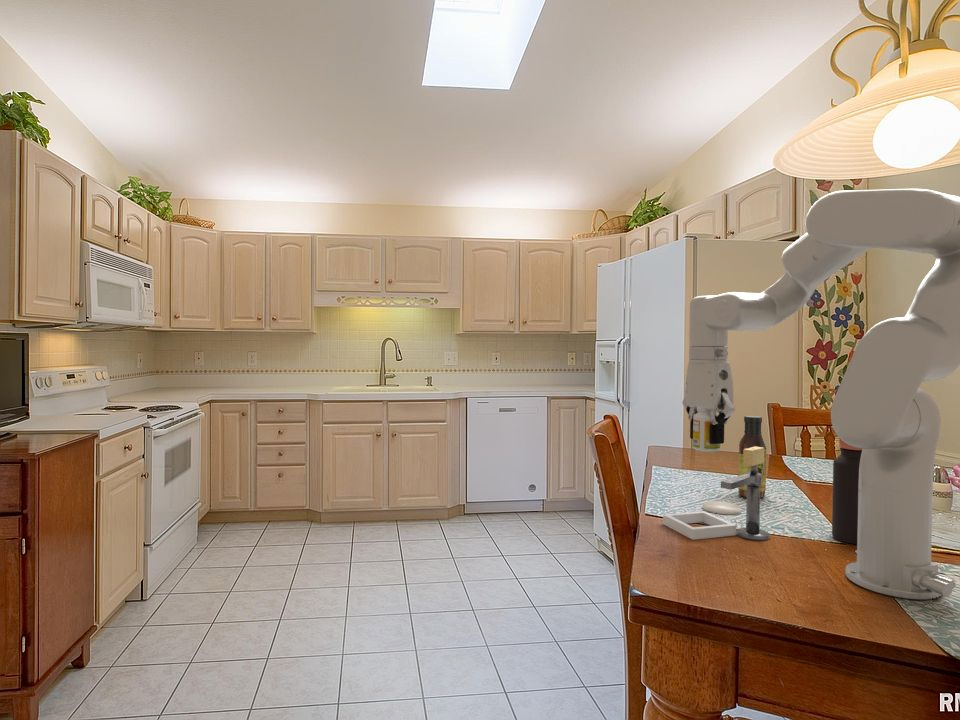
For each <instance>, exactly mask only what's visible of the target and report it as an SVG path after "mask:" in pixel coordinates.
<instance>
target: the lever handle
mask: <svg viewBox="0 0 960 720" xmlns="http://www.w3.org/2000/svg"><path fill="white" fill-rule="evenodd" d="M761 463H764V448H763V447H756V446H755V447H751V448H747V449H743V465H749V466H750V472H746V473H745V474H743V475H740V476H738V475H737V476H734V477H731V478H727V479H724V480H721V481H720V489H726V490H731V491H732V490H734V489H735V490H736V489H739V488H738V487H741V486H744V485H747V484H748V485H753V486H760V485H762V474H761V473H757V465H758V464H761Z"/></svg>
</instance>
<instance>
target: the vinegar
mask: <svg viewBox="0 0 960 720" xmlns="http://www.w3.org/2000/svg"><path fill="white" fill-rule="evenodd" d="M838 438H839V437H838ZM838 442H839V444H838V446H839V450H840V455H838V456H837V457H836V458H835V459H834V460H833V462H832V464H833V466H832V510H831V511H832V512H831V513H832V517H831V535H832V538H834V539H835V540H837V541H839V542H842V543H846V544H850V545H855V546H857V533H858V483H859V465H860V458H861V454H862V450H863V449H860V448H856V447H853V446H850V445H848V444H847V443H845V442H844V441H843V440H841V439H840V438H839V441H838Z"/></svg>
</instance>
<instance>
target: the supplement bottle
mask: <svg viewBox="0 0 960 720" xmlns="http://www.w3.org/2000/svg"><path fill="white" fill-rule="evenodd" d="M697 411H698V413H696V414H695V415H694V417H693V439H692V449H694V450H695V451H699V452H705V453H706V452H710V453H713V452H714V453H716V452H719V451H720V450H721V444H710V442H709V432H710V424H712V421H711V416H710V411H709V410H706V409H703V408H701V407H700V406H698V407H697ZM716 415H717V416H718V415H719V413H718V414H717V413H716Z"/></svg>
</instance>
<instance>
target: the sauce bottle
mask: <svg viewBox="0 0 960 720" xmlns="http://www.w3.org/2000/svg"><path fill="white" fill-rule="evenodd" d="M743 423H744V431H743V432H744V435H743V436H742V437H741V438H740V441H739V443H738V444H739V448H738V449H739V450H738V451H739V452H738V464H737V465H738V469H737V472H738V473H737V476H740V475H743V474H745V473H746V472H750V466H749V465H743V449H747V448H751V447H755V446H756V447H763V448H764V463H761V464H758V465H757V473H761V474H762V485H760V499H762V498H765V496H766V490H767V489H766V486H767V483H766V482H767V447H766V444H765V441H764V439H763V438H764V437H763V435H762V423H763V417H762V416H759V415H757V416H756V415H744V417H743ZM737 489H738V494H739V496H741V497H743V498H747V485H744V486H741V487H738V488H737Z"/></svg>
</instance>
